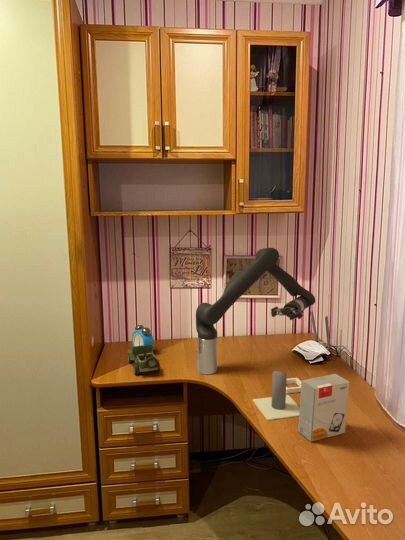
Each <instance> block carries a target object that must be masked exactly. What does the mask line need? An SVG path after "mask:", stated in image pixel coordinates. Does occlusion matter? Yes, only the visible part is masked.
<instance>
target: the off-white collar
mask: <svg viewBox="0 0 405 540" xmlns="http://www.w3.org/2000/svg"><path fill="white" fill-rule="evenodd" d="M301 381H302V380H300V379H299V378H298V377H292V378H287V379H286V395H288V394H294V393H295V394H297V393H301ZM289 384H291V385H292V384H297V385H298V386H295V387H294V386H292V387H288V386H287V385H289Z"/></svg>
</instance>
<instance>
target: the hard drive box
mask: <svg viewBox="0 0 405 540" xmlns="http://www.w3.org/2000/svg"><path fill="white" fill-rule="evenodd" d="M300 381H301V392H300V397H299V407H300V413H299V416H298V417H299V418H298V432H299V434H301V435H302V436H303V437H305V439H307V440H308V441H309V442H312V443H313V442H315V441H320V440H323V439H327V438H330V437H334V436H335V437H336V436H339V435H341V434H345V433H346V424H347V415H348V401H349V390H350V389H349V388H350V381H349V380H347V379H345V378H344V377H342V376H340V375H338V374H337V373H333V374H328V375H322V376H317V377H312V378H308V379H302V380H300Z"/></svg>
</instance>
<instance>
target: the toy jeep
mask: <svg viewBox="0 0 405 540" xmlns="http://www.w3.org/2000/svg"><path fill="white" fill-rule="evenodd" d="M153 350H154V349H153ZM153 350H152V344H151V345H141V346H135V347H133V346H132V347H131V349H127V361H128V364H133V365H132V366H133V367H132V368H133V374H134V375H135V376H137V375H140V373H143V372H145V373H146V372H151V371H155V372H156V373H158V372H160V371H161V364H160V360H159V359H158V358H157V356H156V355H155V354H154V351H153Z"/></svg>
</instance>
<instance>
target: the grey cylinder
mask: <svg viewBox="0 0 405 540" xmlns="http://www.w3.org/2000/svg"><path fill="white" fill-rule="evenodd" d="M287 376H288V375H287V372H286V371H283V370H274V371H272V377H271V378H272V380H271V382H272V383H271V384H272V385H271V397H272V408H274V409H277V410H282V409H285V405H286V395H287V393H286V386H287V384H286V379H288V378H287Z"/></svg>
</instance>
